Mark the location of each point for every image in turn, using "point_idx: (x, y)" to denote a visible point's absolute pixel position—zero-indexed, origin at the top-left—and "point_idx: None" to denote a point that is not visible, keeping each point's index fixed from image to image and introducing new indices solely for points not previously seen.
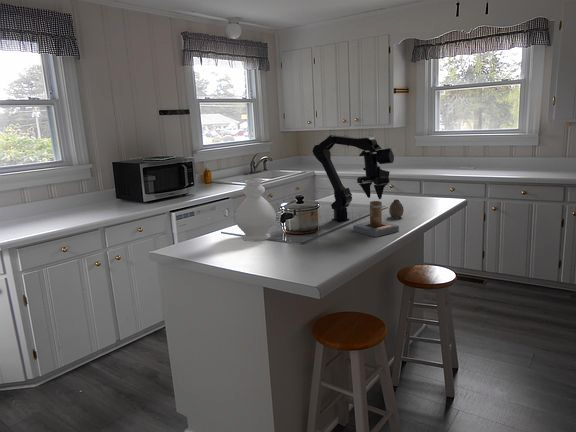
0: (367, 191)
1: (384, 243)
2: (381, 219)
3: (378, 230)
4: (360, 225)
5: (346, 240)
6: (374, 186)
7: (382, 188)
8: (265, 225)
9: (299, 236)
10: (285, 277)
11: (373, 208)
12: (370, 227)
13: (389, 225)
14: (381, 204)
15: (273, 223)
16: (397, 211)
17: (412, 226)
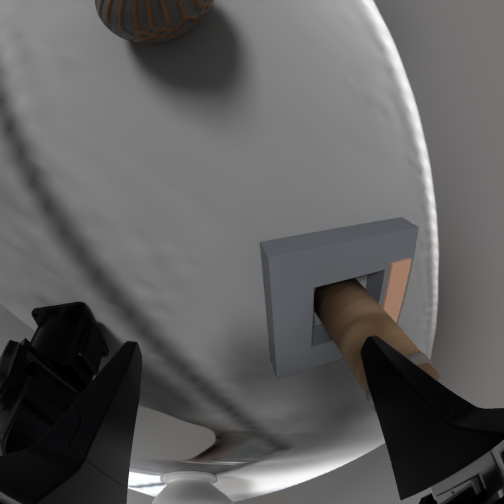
0: (126, 428)
1: (424, 326)
2: (383, 309)
3: None
4: (300, 359)
5: (339, 393)
6: (404, 486)
7: (455, 414)
8: (231, 500)
9: (228, 451)
10: (378, 445)
11: None
12: None
13: (398, 268)
14: (431, 365)
15: (216, 496)
16: (207, 10)
17: (391, 103)
